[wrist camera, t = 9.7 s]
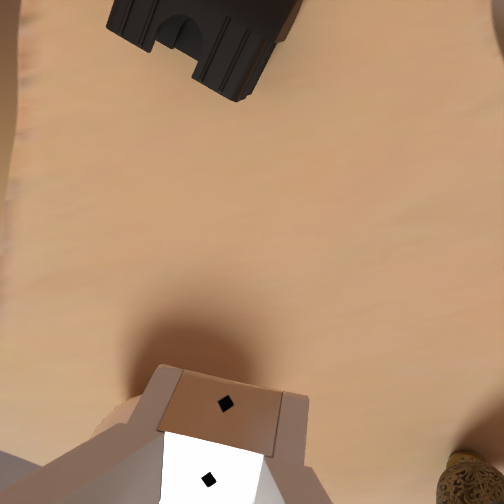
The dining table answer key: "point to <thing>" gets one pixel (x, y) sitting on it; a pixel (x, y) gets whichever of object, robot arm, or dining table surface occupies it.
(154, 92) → the dining table surface
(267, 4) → the end cap
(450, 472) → the cup
